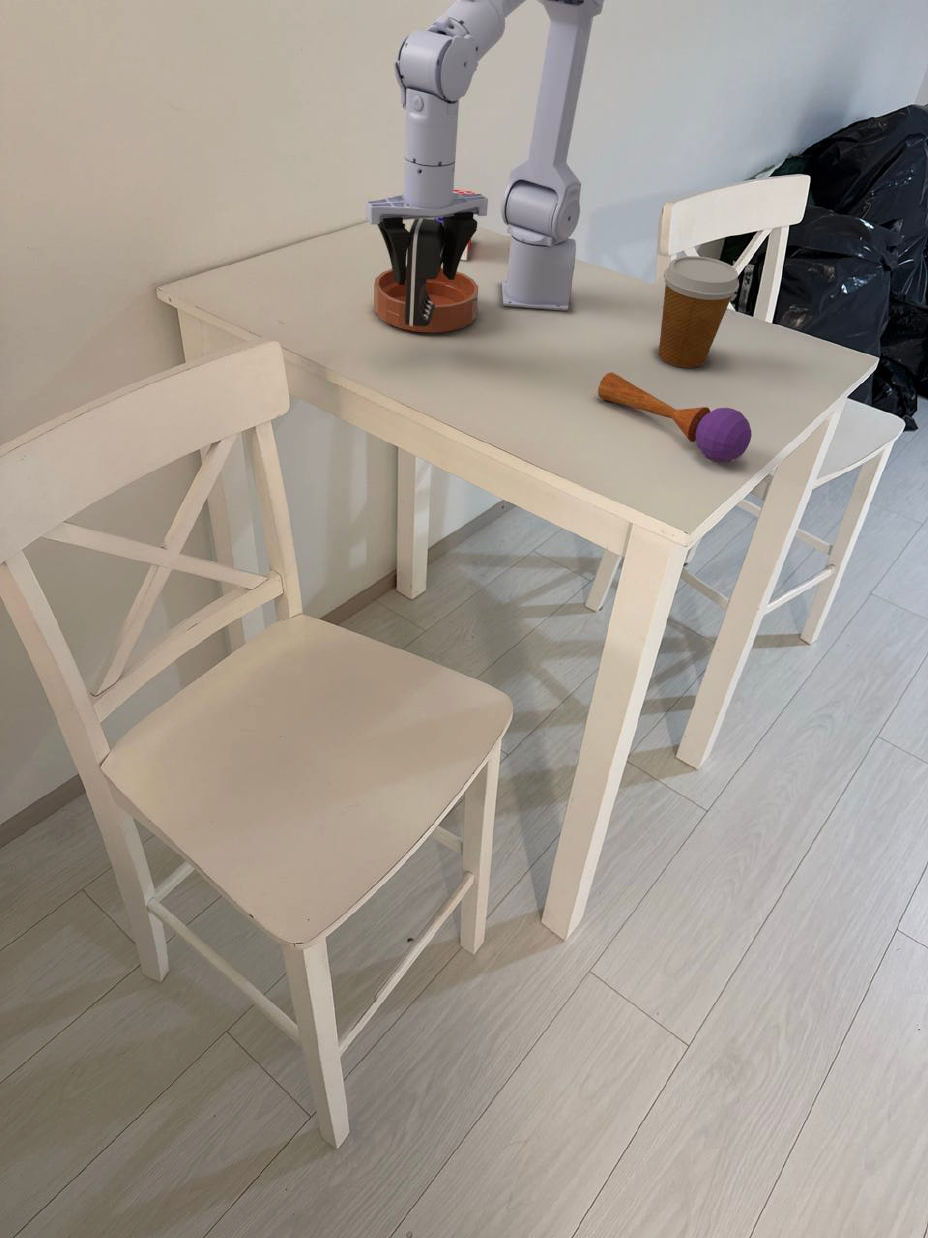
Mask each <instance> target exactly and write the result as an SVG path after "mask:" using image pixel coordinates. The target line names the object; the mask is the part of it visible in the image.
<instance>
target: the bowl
mask: <svg viewBox="0 0 928 1238" xmlns="http://www.w3.org/2000/svg"><path fill="white" fill-rule="evenodd" d="M406 271H407V265H406ZM373 285H374V286H373V310H374V312H375V314H376V315H377V317H378V318H380V319H381V320H383V321H384V322H385V323H387V324H389V325H392V326H394V327H397V328H399V329H403V330H407V331H412V332H417V333H444V332H445V333H446V332H450V331H451V332H452V331H455V330H460V329H463V328H465V327H466V326H468V325H470V324H472V323H473V321H474V320H475V318H477V314H478V313H477V312H478V301H479V285H478V284H477V282H476V281H475V279H473V278H471V277H470V276H469V275H467V274H465V273H463V272H460V271H457V272H456V275H455V279H454V280H449V279H448V278H447V277H446V276H445V275H444V274H443V266H441V269H440V272H439V274H438V277H437V278H436V279H427V283H426V286H427V291H428V294H429V297H430V299H431V301H432V302H433V303H434V304H435V310H434V313H433V316H432V319H431V322H430V324H429V325H428V326H409V325H406V324H405V299H406V281H405V285H399V284H398V283H397V282H396V281H395V280H394V277H393V270H392V268H390V269H387V270H385V271H383V272H381V273H380V274H379V275H377V276H376V277H375V279H374V284H373Z"/></svg>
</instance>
